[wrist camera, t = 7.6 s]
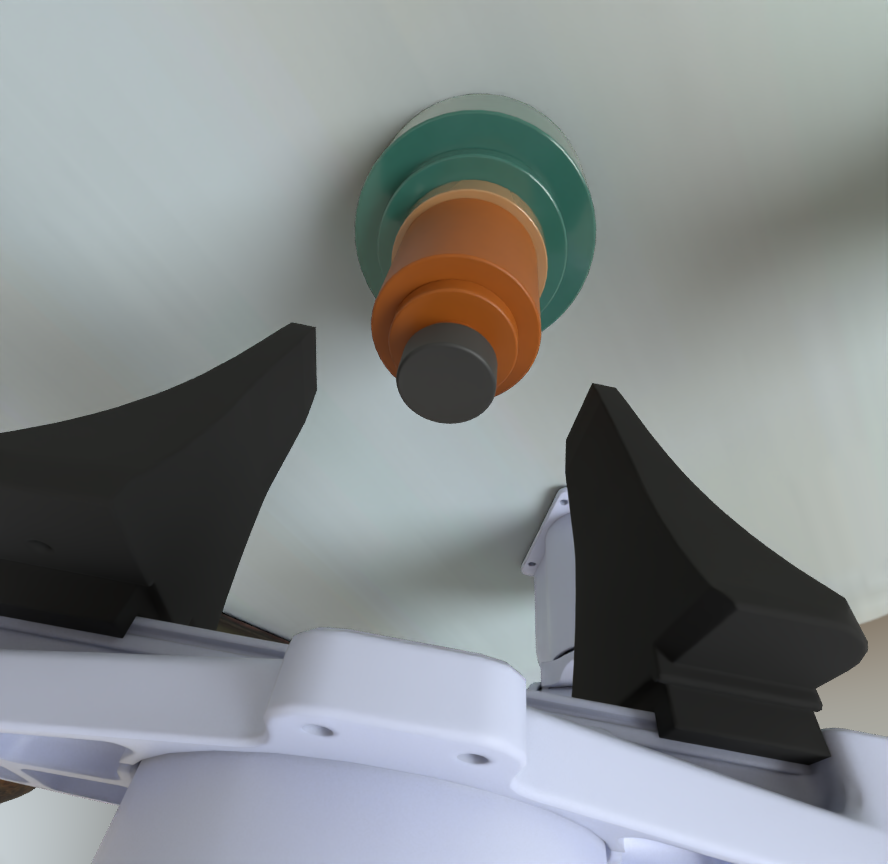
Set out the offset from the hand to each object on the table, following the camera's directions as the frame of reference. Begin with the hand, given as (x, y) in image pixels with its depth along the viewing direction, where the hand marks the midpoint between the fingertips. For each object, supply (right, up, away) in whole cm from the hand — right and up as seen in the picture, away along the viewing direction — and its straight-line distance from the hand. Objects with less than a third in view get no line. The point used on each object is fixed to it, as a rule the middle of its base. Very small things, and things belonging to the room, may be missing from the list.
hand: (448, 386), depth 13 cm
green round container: (+1, +7, +7) cm, 10 cm away
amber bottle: (+1, +4, +3) cm, 5 cm away
